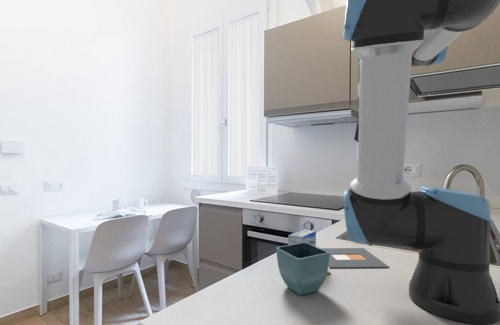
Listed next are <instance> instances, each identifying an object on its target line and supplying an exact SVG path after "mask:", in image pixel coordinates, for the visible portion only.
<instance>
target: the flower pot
mask: <svg viewBox="0 0 500 325" xmlns="http://www.w3.org/2000/svg"><path fill="white" fill-rule="evenodd" d="M320 248H321V247H317V245H316V246H313V245H311V244H309V243H306V242H303V243H297V244H292V245H281V246H278V247H275V251H276V257H277V266H278V271H279V273H280V277H281V278H282V280H283V282H284V284H285V285H286V287H287V288H288V289H290V290H291V291H293V292H294V293H296V295H297V294H298V295H299V296H304V295H306V294H310V293H314V292H317V291H318V290H320V288H321V287H322V286H323V284H324V282H325V280H326V277H327V275H328V274H327V270H329V267H328V263H329V255H330V253H329V252H328V251H325V250H323V249H320Z"/></svg>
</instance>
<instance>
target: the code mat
mask: <svg viewBox="0 0 500 325" xmlns="http://www.w3.org/2000/svg"><path fill="white" fill-rule="evenodd" d="M319 248H320V249H323V250H325V251H328V252H329V253H330V255H329V263H328V269H389V268H390V266H389V265H387V264H386V263H385V262H384V261H382V260H380V259H379V258H378V257H377V256H375V255H374V254H373V253H372V252H370V251H369V250H367V249H365V247H343V248H342V247H340V248H339V247H336V248H335V247H333V248H332V247H330V248H329V247H327V248H326V247H324V248H323V247H322V248H321V247H319Z"/></svg>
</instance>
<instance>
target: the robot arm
mask: <svg viewBox="0 0 500 325" xmlns="http://www.w3.org/2000/svg"><path fill="white" fill-rule="evenodd" d="M499 5H500V0H347V2H346V8H345V18H344V28H343V40H345V41H347V42H350V41H351V45H350V46H351V48H350V49H351V50H350V51H352V53H354V55H356V56H357V57H358V58H357V64H358V65H357V73H358V74H357V78H358V80H357V81H358V82H357V96H358V98H357V108H358V114H357V121H356V122H357V123H356V127H355V133H354V138H353V140H354V141H356V161H357V176H356V177H355V178H354V179H352V181H351V182H350V183H349V184H350V185H349V187H350V188H349V189H345V190H344V191H343V194H342V200H343V201H342V202H343V211H344V220H345V227H346V232H347V236H348V238H349V239H350V241H352V242H353V243H355V244H361V245H368V246H369V247H373V246H379V247H391V248H398V249H399V248H402V249H412V250H418V259H417V260H418V261H417V263H416V266H415V268H414V271H413V273H412V277H411V279H410V280H409V283H408V295H409V298H410V299H411V301H413V303H414V304H416V305H417V306H418V307H420V308H421V309H424V310H425V311H428V312H430V313H431V314H434V315H436V316H439V317H442V318H445V319H448V320H452V321H455V322H461V323H466V324H476V325H487V324H493V323H496V322H498V321H500V298H499V297H498V293H497V290H496V287H495V284H494V281H493V279H492V277H491V272H490V259H491V258H490V253H491V252H490V250H491V248H490V246H491V245H490V243H491V242H490V241H491V222H492V219H491V212H490V210H491V209H490V202H489V200H488V199H487V198H486V197H485V196H483V195H481V194H479V193H473V192H470V191H469V192H468V191H463V190H459V189H451V188H447V187H446V188H445V187H438V186H431V185H430V186H428V185H421V186H420V187H419V189H418V190H417V191H418V192H412V187H411V185H410V184H409V183H408V182H407V181H406V180H405V179H404V172H405V159H406V158H405V157H406V156H405V155H406V143H407V130H408V129H407V128H408V117H409V116H408V115H409V102H410V88H411V75H412V74H411V73H412V67H422V66H426V67H429V66H432V65H439V64H441V63H443V62H444V60H445V57H447V53H448V46H449V45H451V43H452V42H453V41H455V40H456V39H457V38H458V37H460V35H461V34H462V33H464V32H467V31H470V30H472V29H475V28H476V27H478V26H479V25H480V24H482V23H483V22H484V21H486V20H487V19H488V18H490V16H491V15H492V14H493V13H494V12H495V11H496V9H497V8H498V6H499Z"/></svg>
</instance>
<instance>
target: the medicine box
mask: <svg viewBox="0 0 500 325" xmlns="http://www.w3.org/2000/svg"><path fill="white" fill-rule="evenodd" d="M287 236H288V238H287V240H288V242H287V244H288V245H292V244H297V243H303V242H306V243H309V244H311V245H313V246H316V247H317V232H316V231H314V230H309V229H301V230H299V231H296V232H294V233H290V234H288V235H287Z"/></svg>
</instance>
